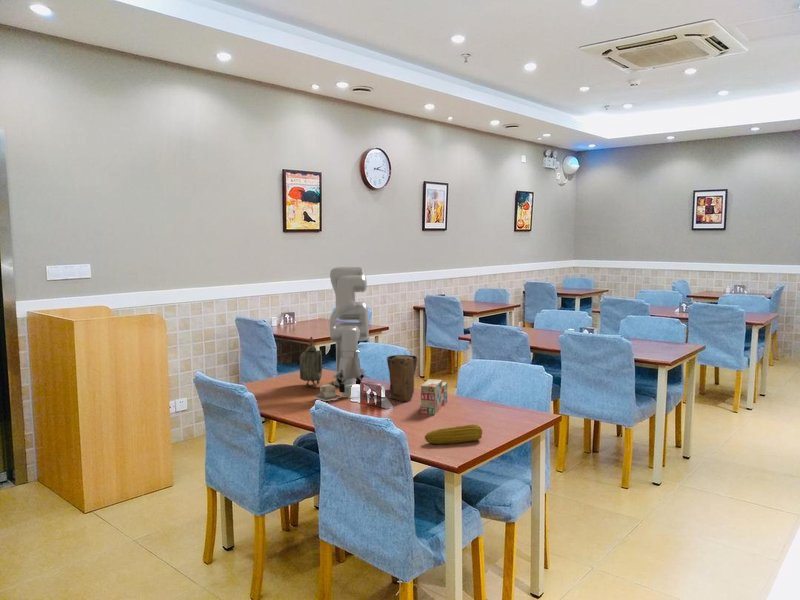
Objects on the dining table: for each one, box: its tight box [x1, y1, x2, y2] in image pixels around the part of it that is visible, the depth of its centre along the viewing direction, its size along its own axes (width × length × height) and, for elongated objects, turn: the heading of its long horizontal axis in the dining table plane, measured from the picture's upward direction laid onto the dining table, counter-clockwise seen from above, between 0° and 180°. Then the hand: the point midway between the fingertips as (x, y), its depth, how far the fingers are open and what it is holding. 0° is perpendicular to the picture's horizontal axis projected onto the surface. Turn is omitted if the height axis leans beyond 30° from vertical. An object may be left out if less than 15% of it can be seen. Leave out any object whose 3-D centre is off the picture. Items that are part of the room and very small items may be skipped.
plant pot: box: [386, 354, 418, 376], centre depth 285 cm, size 15×15×16 cm
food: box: [424, 424, 483, 445], centre depth 208 cm, size 21×6×6 cm, turn 105°
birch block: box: [319, 383, 336, 398], centre depth 268 cm, size 5×5×5 cm
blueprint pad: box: [314, 393, 341, 402], centre depth 269 cm, size 8×8×2 cm
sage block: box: [342, 385, 352, 397], centre depth 272 cm, size 5×5×5 cm
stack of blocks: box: [420, 378, 448, 415], centre depth 253 cm, size 21×6×12 cm, turn 161°
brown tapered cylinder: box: [388, 354, 415, 402], centre depth 267 cm, size 11×8×20 cm
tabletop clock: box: [299, 336, 323, 390], centre depth 292 cm, size 14×9×25 cm, turn 0°
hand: (350, 390), depth 272 cm, fingers open, 9 cm apart
